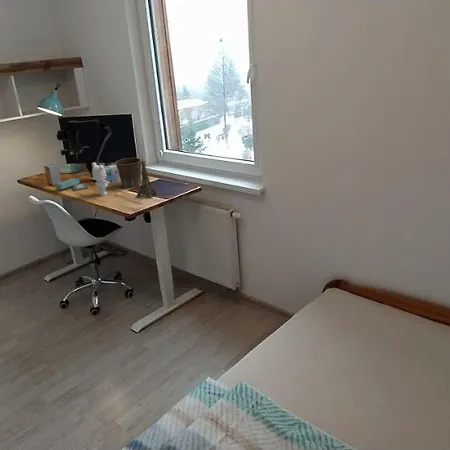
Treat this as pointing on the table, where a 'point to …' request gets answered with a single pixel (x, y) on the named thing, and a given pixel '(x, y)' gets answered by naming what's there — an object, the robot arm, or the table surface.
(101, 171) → the white bear figurine
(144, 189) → the eiffel tower
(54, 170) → the small box
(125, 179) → the plant pot
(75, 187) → the label panel
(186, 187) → the table surface
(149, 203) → the table surface
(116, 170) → the light bulb box
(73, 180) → the swing arm
